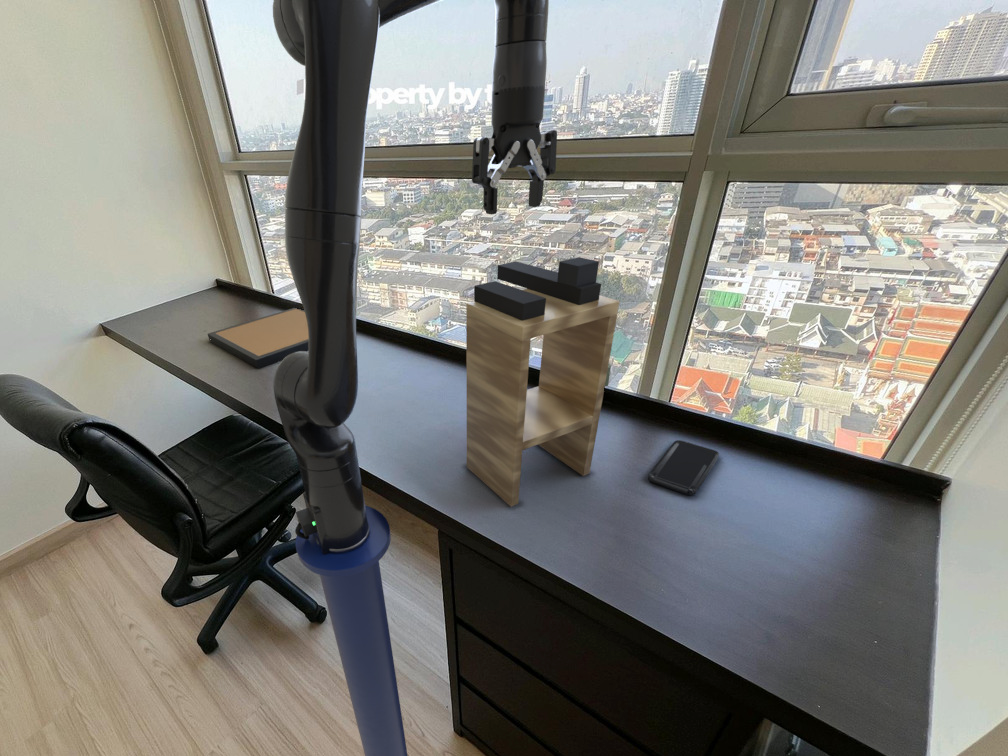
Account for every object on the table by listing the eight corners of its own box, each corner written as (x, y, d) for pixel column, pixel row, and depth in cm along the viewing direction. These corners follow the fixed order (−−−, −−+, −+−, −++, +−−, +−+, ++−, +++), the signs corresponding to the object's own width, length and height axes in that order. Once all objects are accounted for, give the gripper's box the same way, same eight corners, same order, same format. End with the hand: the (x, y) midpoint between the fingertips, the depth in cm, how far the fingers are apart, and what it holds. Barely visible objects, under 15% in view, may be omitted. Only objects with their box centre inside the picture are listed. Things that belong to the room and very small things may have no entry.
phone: (647, 475, 85) (676, 438, 94) (646, 480, 86) (675, 443, 95) (695, 492, 81) (721, 452, 89) (694, 497, 81) (719, 457, 90)
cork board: (298, 314, 183) (209, 341, 164) (297, 306, 181) (207, 333, 162) (354, 334, 160) (258, 368, 141) (352, 326, 158) (255, 359, 140)
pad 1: (522, 320, 67) (523, 303, 66) (474, 301, 76) (474, 285, 75) (544, 315, 68) (546, 298, 67) (494, 296, 77) (495, 281, 76)
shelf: (511, 507, 83) (522, 327, 65) (466, 467, 93) (466, 302, 76) (589, 473, 89) (619, 300, 71) (539, 439, 100) (555, 282, 82)
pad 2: (578, 305, 71) (583, 267, 68) (497, 279, 86) (498, 247, 83) (599, 299, 72) (604, 262, 69) (515, 275, 87) (516, 243, 84)
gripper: (541, 86, 74) (533, 202, 83) (462, 91, 70) (463, 214, 79) (575, 80, 69) (563, 206, 78) (492, 85, 64) (489, 218, 73)
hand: (512, 210), depth 78 cm, fingers open, 8 cm apart
